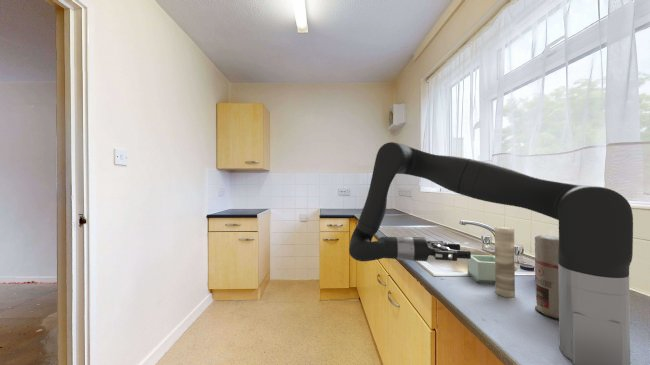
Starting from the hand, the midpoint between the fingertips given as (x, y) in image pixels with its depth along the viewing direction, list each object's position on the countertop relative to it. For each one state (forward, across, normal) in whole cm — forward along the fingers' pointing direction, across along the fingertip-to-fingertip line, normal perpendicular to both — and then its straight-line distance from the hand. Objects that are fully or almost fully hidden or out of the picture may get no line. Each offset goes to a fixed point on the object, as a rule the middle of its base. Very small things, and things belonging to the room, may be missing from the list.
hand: (464, 250), depth 77 cm
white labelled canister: (+18, -11, +13) cm, 25 cm away
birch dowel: (+11, 0, +13) cm, 17 cm away
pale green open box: (+12, +12, +13) cm, 21 cm away
